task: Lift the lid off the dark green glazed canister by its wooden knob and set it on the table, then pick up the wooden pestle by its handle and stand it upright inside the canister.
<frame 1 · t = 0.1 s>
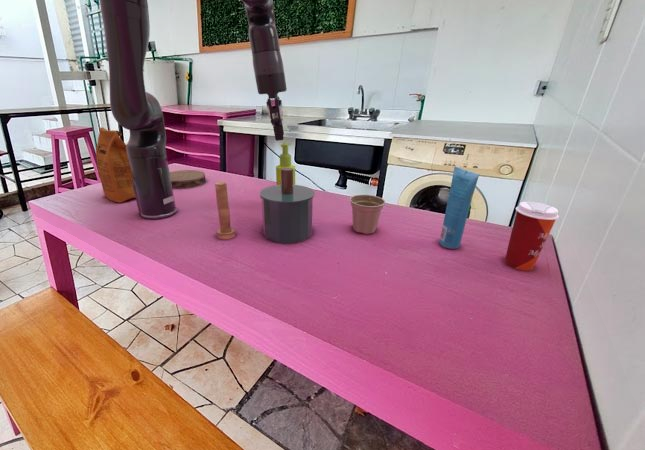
hand: (280, 137, 83), 22 cm above the table, tool pointing down, fingers open, 8 cm apart
wooden pestle: (226, 235, 77), on the table
lid: (287, 194, 76), point 11 cm above the table, touching canister
canister: (288, 232, 80), on the table
soap dispenser: (286, 206, 98), on the table
tube: (449, 245, 76), on the table
coffee package: (124, 197, 101), on the table
paper cup: (518, 264, 69), on the table
flower pot: (364, 230, 83), on the table
brown round disc: (184, 183, 118), on the table
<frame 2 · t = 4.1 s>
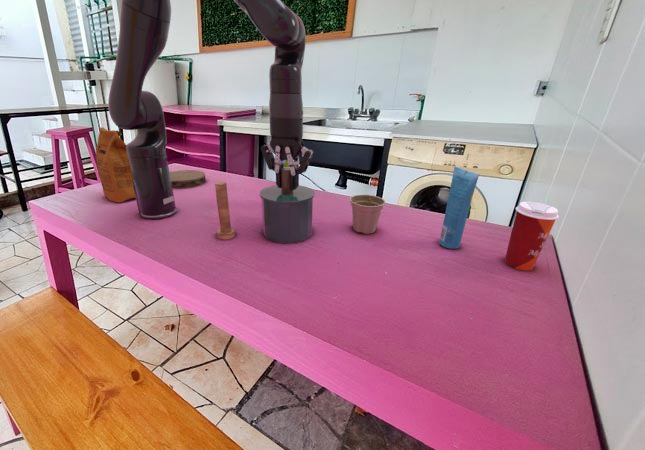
hand: (287, 187, 75), 12 cm above the table, tool pointing down, fingers closed on lid, 3 cm apart
lid: (287, 194, 76), point 11 cm above the table, touching canister, gripper
everything else where it was.
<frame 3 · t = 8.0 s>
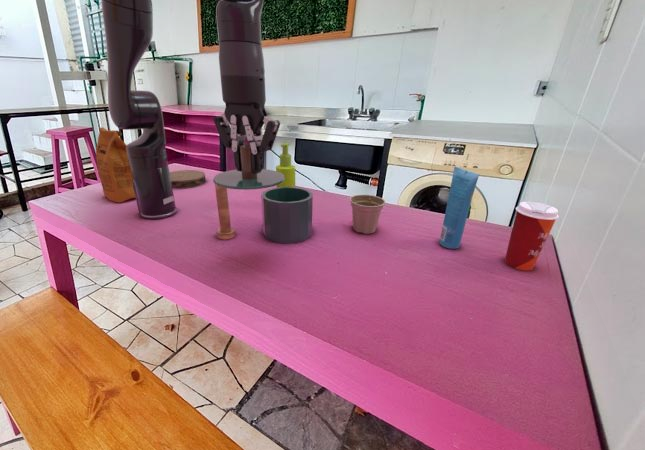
hand: (249, 171, 59), 20 cm above the table, tool pointing down, fingers closed on lid, 3 cm apart
lid: (249, 179, 60), point 18 cm above the table, touching gripper
everything else where it was.
when the fingers open (2 cm above the table, at t = 12.0 s): lid stays where it is, point 1 cm above the table.
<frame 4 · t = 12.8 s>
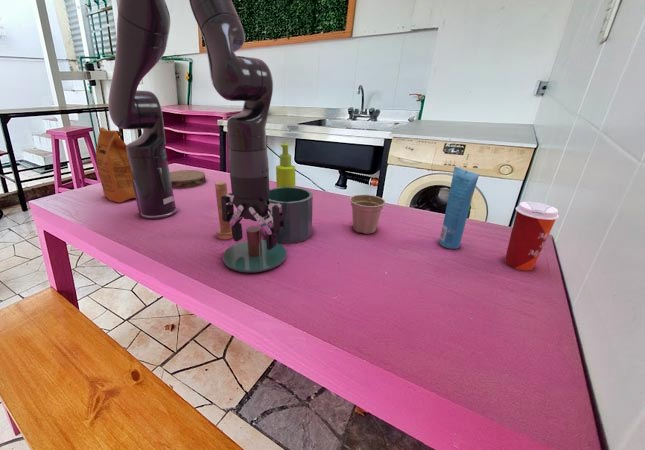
hand: (254, 244, 66), 3 cm above the table, tool pointing down, fingers open, 8 cm apart
lid: (255, 255, 67), point 1 cm above the table
everything else where it was.
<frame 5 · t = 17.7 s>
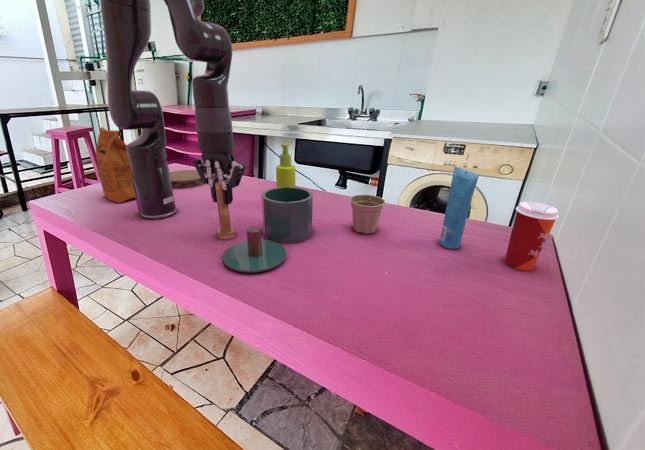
hand: (222, 202, 73), 9 cm above the table, tool pointing down, fingers closed on wooden pestle, 2 cm apart
wooden pestle: (226, 235, 77), on the table, touching gripper
everything else where it was.
when the fingers open (10 cm above the table, at t = 25.1 s): wooden pestle stays where it is, resting on canister.
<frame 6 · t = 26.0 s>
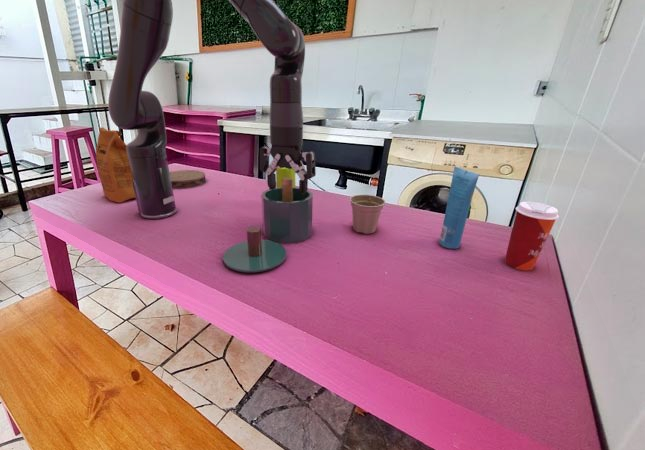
hand: (287, 191, 75), 11 cm above the table, tool pointing down, fingers open, 8 cm apart
wooden pestle: (288, 230, 80), point 1 cm above the table, touching canister
everything else where it was.
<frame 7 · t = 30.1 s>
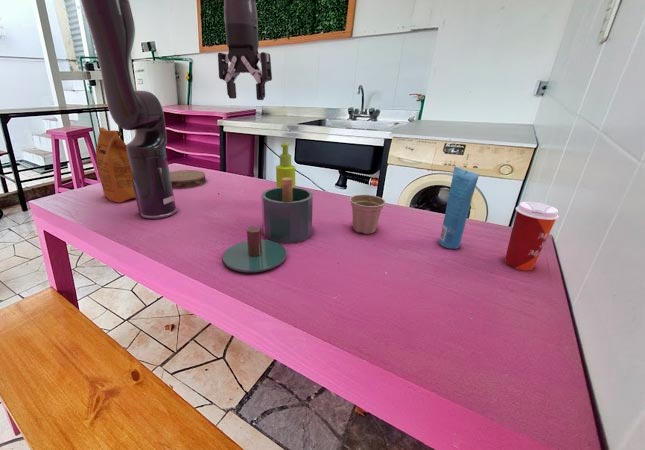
hand: (246, 99, 77), 32 cm above the table, tool pointing down, fingers open, 8 cm apart
nothing on the table moved.
at the end: lid inside the target area on the table beside the canister (0.0 cm from its centre), point 0.6 cm above the table; wooden pestle inside the target area in the canister (0.0 cm from its centre), point 0.6 cm above the canister's base; wooden pestle tilted 0° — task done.
